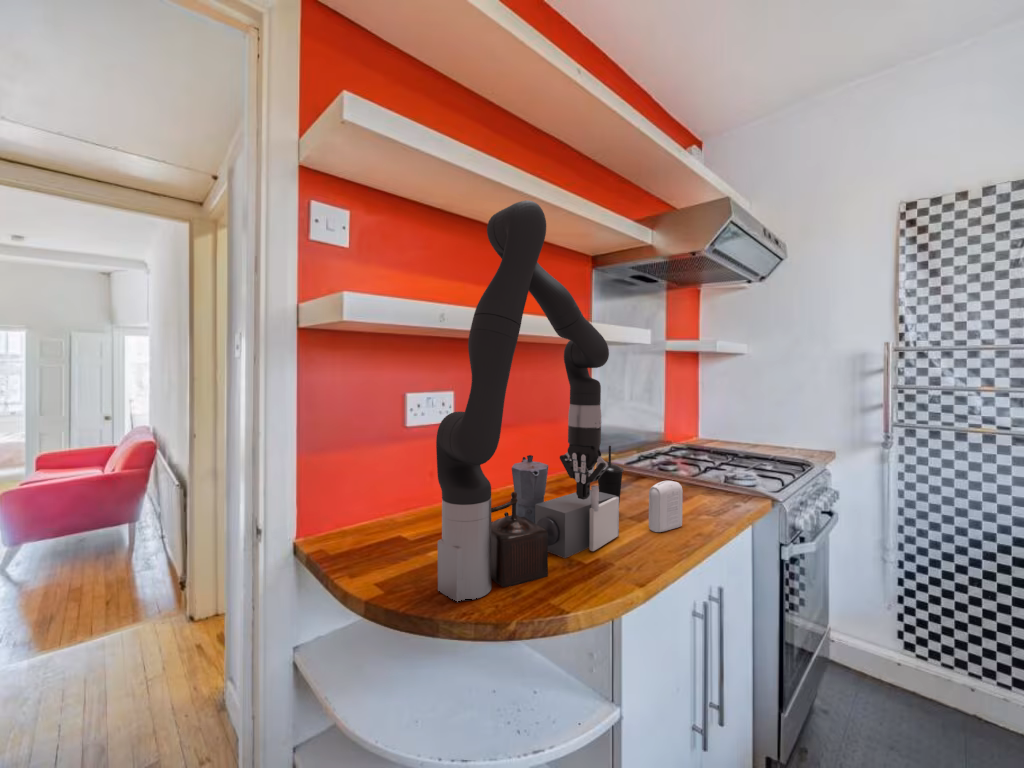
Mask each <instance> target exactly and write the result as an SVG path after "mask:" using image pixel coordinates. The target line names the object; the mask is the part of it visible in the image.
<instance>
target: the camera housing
mask: <svg viewBox="0 0 1024 768" xmlns="http://www.w3.org/2000/svg"><path fill="white" fill-rule="evenodd" d="M613 497H616V496H615V495H611V494H607V493H602V492H599V504H601V503H603V502H605V501H607V500H609V499H611V498H613ZM590 508H591V489H590V495H589V497H588V498H587V499H584V500H583V499H579V498H578V495H577V494H576V491H575V492H573V493H570V494H565V495H562V496H559V497H555V498H553V499H550V500H546V501H545V500H544V502H542V503H538V504H535V524H537V525H539V526H540V527H542V528H544V529H545V530H547V532H548V553H550V554H553V555H555V556H558V557H560V558H562V559H568V558H569V557H571V556H574V555H576V554H578V553H581V552H583V551H585V550H587V549H589V546H590Z"/></svg>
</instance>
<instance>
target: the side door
mask: <svg viewBox="0 0 1024 768" xmlns="http://www.w3.org/2000/svg"><path fill="white" fill-rule="evenodd" d="M590 490H591V508H590V546H589V548H588V549H589V551H591V552H595V551H596V550H598V549H600V548H601V547H603V546H604V545H606V544H607V543H609V542H611V541H613V540H614V539H616V538H617V537H619V536H620V535H619V534H620V531H619V530H620V529H619V527H620V524H619V523H620V520H619V519H620V518H619V517H620V503H619V497H613V498H611V499H609V500H607V501H605V502H603V503H601V504H599V486H598V485H590Z"/></svg>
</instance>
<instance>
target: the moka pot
mask: <svg viewBox="0 0 1024 768" xmlns="http://www.w3.org/2000/svg"><path fill="white" fill-rule="evenodd" d="M533 459H534V455H532V454H530V455H526V457H525V456H523V457H522V460H521V462H517V463H516V462H515V463H514V464H513V465H512V466H511V475H512V482H513V483H512V484H513V490H514V491H513V492H516V493H517V497H516V498H517V499H518V502H517V503H516V515H518V516H520V517H525V518H527V519H529V520H530V521H532V522H534V523H535V504H538V503H542V502H545V494H546V490H547V489H546V487H547V480H548V472H549V464H546V463H544V462H540V461H534V460H533Z"/></svg>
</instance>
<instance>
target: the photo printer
mask: <svg viewBox="0 0 1024 768" xmlns="http://www.w3.org/2000/svg"><path fill="white" fill-rule="evenodd" d="M683 493H684V492H683V487H682V484H680V482H677V481H673V480H663V481H659V482H657V483H655V484H654V485H652V486H651V487H650V488H649V491H648V528H649V530H650V531H651V532H654V533H661V532H667V531H670V530H674V529H677V528H680V527H682V525H683Z"/></svg>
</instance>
